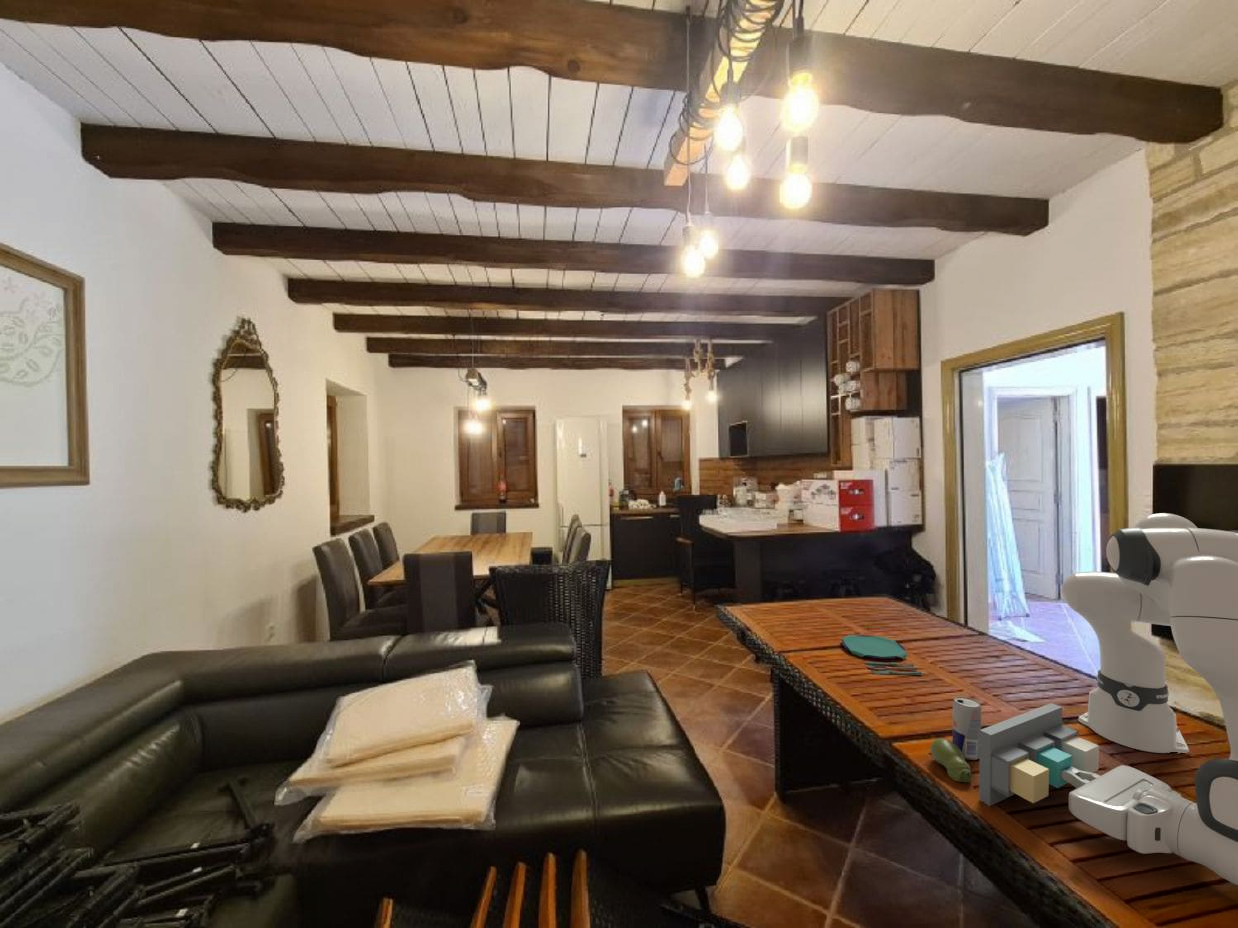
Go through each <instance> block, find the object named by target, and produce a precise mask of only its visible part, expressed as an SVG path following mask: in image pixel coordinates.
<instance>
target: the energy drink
mask: <svg viewBox="0 0 1238 928" xmlns="http://www.w3.org/2000/svg"><path fill="white" fill-rule="evenodd" d="M981 729H982V707H981V703H980V702H979V701H977V700H975V699H973V698H971V697H967V696H956V697H954V698H953V700H952V740H951V742H952V743H954V744H955V745H956V746H957V747H958V748H959V749H960V750H961V752H962V753H963V755H964V758H965V760H969V761H977V760H980V730H981Z"/></svg>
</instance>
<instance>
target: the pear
mask: <svg viewBox="0 0 1238 928" xmlns="http://www.w3.org/2000/svg"><path fill="white" fill-rule="evenodd" d="M930 753H931V756H932V758H933V759H934V760H935V762H937V763H938V764H939V765H941V766H943V767H944V768H946V772H947V776H948V777H949V778H950V779H952V781H954V780H955V781H954V782H956V781H957V783H972V779H973V773H972V772H971V766H970V765H969V763H968V762H967V761H966V759H965V758H964V755H963V753H962V752H961V750H960V749H959V748H958V747H957V746H956V745H955V744H954V743H952V740H949V739H947V738H942V737H941V738H937V739H935V740H934V741H932V743H931V745H930Z"/></svg>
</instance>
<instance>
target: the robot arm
mask: <svg viewBox="0 0 1238 928" xmlns="http://www.w3.org/2000/svg"><path fill="white" fill-rule="evenodd" d="M1105 551H1106V552H1105V554H1106V558H1107V562H1108V563H1109V565H1110V568H1111V570H1112V572H1106V571H1081V572H1073V573H1071V574H1070V575H1068V576H1067V577H1066V578H1065V580H1064V582H1063V583H1062V588H1061V589H1062V590H1061V591H1062V597H1063V599H1064V601H1065V603H1066V604H1067V605H1068V607H1069V608H1071V610H1073V611H1074V612H1076V613H1077V614H1079V615H1080V616H1081V617H1082V618H1083V619H1084V620H1086V622H1087V623H1088V624H1089V625H1090V626H1091V628H1092V629H1093V631H1094V632H1095V635H1096V638H1097V640H1098V646H1099V656H1100V658H1099V662H1100V665H1099V666H1100V669H1099V670H1098V671H1097V675H1096V680H1097V687H1096V688H1095V689H1092V690H1091V691H1089V694H1088V705H1087V707H1088V708H1087V711H1086V712H1085V713H1083V714H1081V715H1079V716H1078V719H1077V720H1078V722H1080V723H1081V724H1082V725H1084V726H1087V727H1088V728H1089V729H1091V730H1093V732H1094V733H1096V734H1098V735H1099V736H1100V737H1101V736H1102V737H1103V738H1104V739H1107V740H1109V741H1111V742H1114V743H1116V744H1118V745H1122V746H1125V747H1128V748H1130V749H1136V750H1138V751H1143V752H1149V753H1158V754H1159V753H1160V754H1167V753H1170V752H1178V753H1177V754H1180V753H1181V752H1182V753H1187V752H1189V753H1190V749H1189V747H1188V744H1187V743H1186V741H1185V739H1184V737H1183V735H1182V733H1181V730H1180V729H1179V727H1178V725H1177V714H1176V713H1175V712H1174V710H1173V709H1172V708H1171V707H1170V705H1169V704H1168V701H1169V695H1170V694H1169V693H1170V691H1169V689H1168V687H1169V686H1168V685H1167V684H1166V667H1167V657H1166V653H1165V651H1164V649H1163V648H1161V646H1159V644H1157V643H1156V642H1155V641H1153V640H1152V639H1150V638H1147V637H1145V636H1143V635H1141V634H1139V633H1138V632H1135V631H1133V630H1132V627H1131V623H1133V622H1135V623H1143V624H1152V625H1160V626H1169V627H1170V628H1171V634H1172V637H1173V640H1174V643H1175V645H1176V648H1177V651H1178V652H1179V655H1180V657H1181V658H1182V660H1183V661H1184V662H1185V663H1186V664H1187V665H1188V666H1189V667H1191V668H1192V669H1193V670H1194V671H1195V672H1196V673H1197V674H1198V675H1200V676H1201V678H1203V679H1204V681H1205V682H1206V683H1207V684H1208V685H1209V686H1210V688H1211V689H1212V690H1213V691H1214V694H1215V695H1216V697H1217V699H1218V701H1219V704H1220V707H1221V710H1222V711H1221V712H1222V715H1223V716H1222V717H1223V720H1224V725H1225V729H1226V734H1227V737H1228V743H1229V747H1230V748H1229V749H1230V755H1229V757H1228V758H1214V759H1210V760H1207V761H1205V762H1203V763H1202V764H1200V766H1199V767H1198V768H1197V769H1196V773H1195V775H1194V789H1195V790H1194V791H1195V798H1196V799H1195V800H1196V802H1194V801H1192V800H1189V799H1187V798H1184V797H1183V796H1182V794H1181V793H1179V792H1177V791H1175V790H1173V789H1172V788H1171V787H1170V785H1169V784H1167V783H1166V782H1164V781H1162V780H1160V779H1158V778H1156V777H1154V776H1152V775H1150V774H1148V773H1145V772H1143V771H1141V770H1139V769H1137V768H1135V767H1132V766H1129V765H1123V764H1120V765H1119V766H1116V767H1115V768H1112V769H1111V770H1109V771H1107V772H1105V773H1104V774H1102V775H1100V774H1098V773H1095V772H1093V773H1090V772H1085V771H1080V770H1078V769H1076V768H1074V767H1069V768H1067V769H1065V770H1063V771H1061V777H1062V779H1063V780H1065V781H1067V782H1068V784H1069V783H1070V784H1071V785H1072V786H1073V787H1074V788H1075V789H1074V790H1071V791H1070V792H1069V793H1068V811H1069V812H1070V813H1071V814H1072V815H1073V816H1074V817H1076V818H1077V819H1078V820H1080V821H1082V822H1083V823H1085V824H1087V825H1089V826H1090V827H1092V828H1095V830H1098V831H1100V832H1101V833H1104V834H1106V835H1108V836H1110V837H1112V838H1114V839H1117V840H1121V841H1126V842H1127V843H1126V844H1127V847H1129V848H1130V849H1131V850H1133V851H1135V852H1137V853H1139V854H1155V853H1156V854H1157V853H1165V854H1172V853H1173V854H1174V855H1177V856H1179V857H1180V858H1183V859H1184V860H1187V861H1190V862H1194V863H1197V864H1200V865H1202V866H1204V867H1207V868H1208V869H1210V870H1211V871H1213V872H1214V873H1215V874H1217V875H1218V876H1220V877H1221V878H1222V879H1224V880H1226V881H1228V882H1230V883H1232V884H1235V885H1236V886H1238V530H1234V529H1233V530H1228V531H1227V530H1221V529H1211V528H1201V527H1200V528H1199V527H1197V526H1196V525H1195V523H1193V522H1192V521H1191V520H1189V519H1187V518H1185V517H1183V516H1180V515H1178V514H1174V513H1167V512H1162V513H1161V512H1159V513H1153V514H1149V515H1146V516H1144V517H1143V518H1141V519H1140V520H1139V521H1138V522H1137V523H1135V525H1134V526H1133V527H1127V528H1126V527H1125V528H1120V529H1117V530H1116V531H1114V532H1113V533H1112V534H1111V535H1110V536H1109V539H1108V542H1107V545H1106V550H1105Z"/></svg>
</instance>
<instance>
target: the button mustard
mask: <svg viewBox="0 0 1238 928" xmlns="http://www.w3.org/2000/svg"><path fill="white" fill-rule="evenodd" d="M1049 788H1050V784H1049V769H1048V768H1046V767H1043V766H1041V765H1039V764H1037V763H1035V762H1033V761H1031V760H1029V759H1027V758H1023V759H1020V760H1018V761H1016V762H1014V763H1011V764H1010V791H1011V792H1013V793H1015V794H1014V795H1017V796H1019V797H1021V798H1023V799H1024V800H1026V801H1028V802H1030V803H1032V804H1035V803H1037V802H1039V801H1041V800H1043V799H1045V798H1047V797H1048V796H1050V795H1049V790H1050V789H1049Z"/></svg>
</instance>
